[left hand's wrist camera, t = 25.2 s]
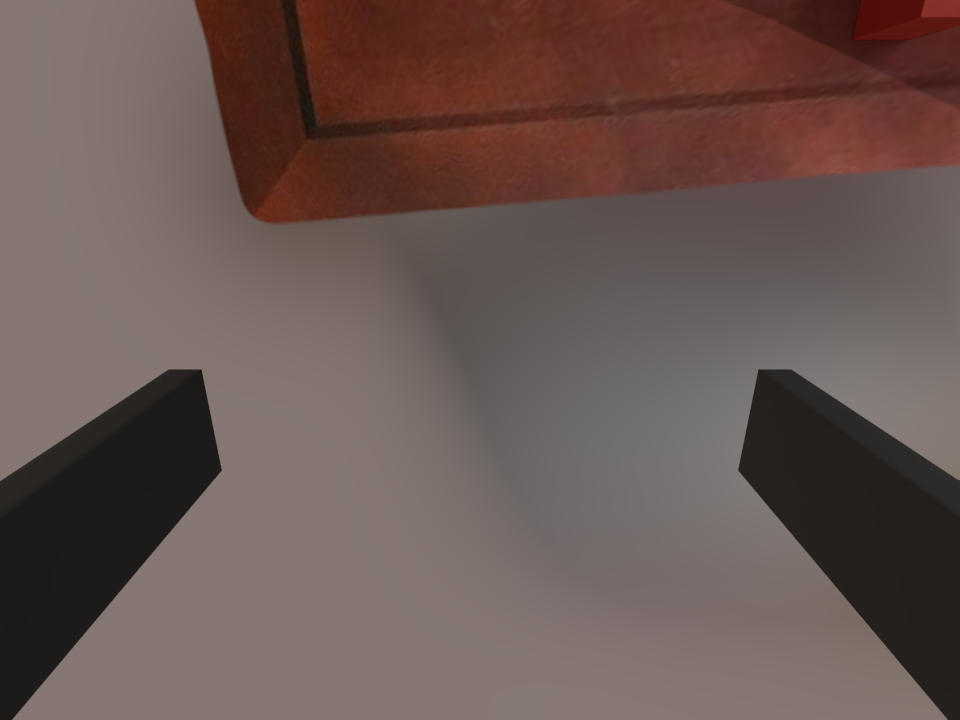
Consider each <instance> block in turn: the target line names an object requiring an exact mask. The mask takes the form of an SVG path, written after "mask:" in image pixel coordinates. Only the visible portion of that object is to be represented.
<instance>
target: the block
mask: <svg viewBox="0 0 960 720" xmlns="http://www.w3.org/2000/svg"><path fill="white" fill-rule="evenodd" d="M958 25H960V0H861V1H860V6H859V11H858V15H857V20H856V25H855V29H854V34H853V39H852V40H910V39H913V38H917V37H920V36H924V35H927V34H931V33H934V32H937V31H941V30H944V29H948V28H951V27H955V26H958Z"/></svg>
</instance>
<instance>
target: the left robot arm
mask: <svg viewBox="0 0 960 720" xmlns="http://www.w3.org/2000/svg"><path fill="white" fill-rule="evenodd" d="M221 471H222V469H221V465H220V459H219V455H218V449H217V445H216V440H215V435H214V430H213V425H212V420H211V415H210V410H209V405H208V400H207V395H206V390H205V385H204V380H203V375H202V370H168V371H166V372H164V373H163V374H161V375H160V376H158V377H157V378H155V379H154V380H152V381H151V382H149V383H148V384H146V385H145V386H143V387H142V388H140V389H139V390H137V391H136V392H134V393H133V394H131V395H130V396H128V397H127V398H125V399H124V400H122V401H121V402H119V403H118V404H116V405H115V406H113V407H112V408H110V409H109V410H107V411H106V412H104V413H103V414H101V415H100V416H98V417H97V418H95V419H94V420H92V421H91V422H89V423H87V424H86V425H84V426H83V427H81V428H80V429H78V430H77V431H75V432H74V433H72V434H71V435H69V436H68V437H66V438H65V439H63V440H62V441H60V442H59V443H57V444H56V445H54V446H53V447H51V448H50V449H48V450H47V451H45V452H44V453H42V454H41V455H39V456H38V457H36V458H35V459H33V460H32V461H30V462H29V463H27V464H26V465H24V466H23V467H21V468H20V469H18V470H17V471H15V472H13V473H12V474H10V475H9V476H8V477H6V478H4V479H3V480H1V481H0V720H12V719H13V718H14V717H15V716H16V714H17V713H18V712H19V711H20V710H21V708H22V707H23V706H24V705H25V704H26V702H27V701H28V700H29V699H30V698H31V696H32V695H33V694H34V693H35V692H36V691H37V689H38V688H39V687H40V686H41V685H42V683H43V682H44V681H45V680H46V679H47V677H48V676H49V675H50V674H51V673H52V672H53V670H54V669H55V668H56V667H57V666H58V664H59V663H60V662H61V661H62V660H63V658H64V657H65V656H66V655H67V654H68V653H69V651H70V650H71V649H72V648H73V647H74V645H75V644H76V643H77V642H78V641H79V639H80V638H81V637H82V636H83V635H84V633H85V632H86V631H87V630H88V629H89V628H90V626H91V625H92V624H93V623H94V622H95V620H96V619H97V618H98V617H99V616H100V614H101V613H102V612H103V611H104V610H105V609H106V607H107V606H108V605H109V604H110V603H111V601H112V600H113V599H114V598H115V597H116V595H117V594H118V593H119V592H120V591H121V590H122V588H123V587H124V586H125V585H126V584H127V582H128V581H129V580H130V579H131V578H132V576H133V575H134V574H135V573H136V572H137V571H138V569H139V568H140V567H141V566H142V565H143V563H144V562H145V561H146V560H147V559H148V557H149V556H150V555H151V554H152V553H153V552H154V550H155V549H156V548H157V547H158V546H159V544H160V543H161V542H162V541H163V540H164V538H165V537H166V536H167V535H168V534H169V532H170V531H171V530H172V529H173V528H174V527H175V525H176V524H177V523H178V522H179V521H180V519H181V518H182V517H183V516H184V515H185V513H186V512H187V511H188V510H189V509H190V508H191V506H192V505H193V504H194V503H195V502H196V500H197V499H198V498H199V497H200V496H201V494H202V493H203V492H204V491H205V490H206V489H207V487H208V486H209V485H210V484H211V483H212V481H213V480H214V479H215V478H216V477H217V475H218V474H219V473H220V472H221ZM738 471H739V472H740V473H741V474H742V475H743V477H744V478H745V479H746V480H747V481H748V483H749V484H750V485H751V486H752V487H753V489H754V490H755V491H756V492H757V493H758V494H759V496H760V497H761V498H762V499H763V500H764V502H765V503H766V504H767V505H768V506H769V508H770V509H771V510H772V511H773V512H774V513H775V515H776V516H777V517H778V518H779V519H780V521H781V522H782V523H783V524H784V525H785V527H786V528H787V529H788V530H789V531H790V532H791V534H792V535H793V536H794V537H795V538H796V540H797V541H798V542H799V543H800V544H801V546H802V547H803V548H804V549H805V550H806V551H807V553H808V554H809V555H810V556H811V557H812V559H813V560H814V561H815V562H816V563H817V565H818V566H819V567H820V568H821V569H822V571H823V572H824V573H825V574H826V575H827V576H828V578H829V579H830V580H831V581H832V582H833V584H834V585H835V586H836V587H837V588H838V589H839V591H840V592H841V593H842V594H843V595H844V597H845V598H846V599H847V600H848V601H849V603H850V604H851V605H852V606H853V607H854V609H855V610H856V611H857V612H858V613H859V615H860V616H861V617H862V618H863V619H864V620H865V622H866V623H867V624H868V625H869V626H870V628H871V629H872V630H873V631H874V632H875V634H876V635H877V636H878V637H879V638H880V639H881V641H882V642H883V643H884V644H885V645H886V647H887V648H888V649H889V650H890V651H891V653H892V654H893V655H894V656H895V657H896V658H897V660H898V661H899V662H900V663H901V664H902V666H903V667H904V668H905V669H906V670H907V672H908V673H909V674H910V675H911V676H912V677H913V679H914V680H915V681H916V682H917V683H918V685H919V686H920V687H921V688H922V689H923V691H924V692H925V693H926V694H927V695H928V696H929V698H930V699H931V700H932V701H933V702H934V704H935V705H936V706H937V707H938V708H939V709H940V711H941V712H942V713H943V714H944V716H945V717H946V718H947V719H948V720H960V480H957V479H956V478H954V477H952V476H951V475H950V474H948V473H946V472H945V471H943V470H942V469H940V468H939V467H937V466H936V465H934V464H933V463H931V462H930V461H928V460H927V459H925V458H924V457H922V456H921V455H919V454H918V453H916V452H915V451H913V450H912V449H910V448H909V447H907V446H906V445H904V444H903V443H901V442H900V441H898V440H897V439H895V438H894V437H892V436H891V435H889V434H888V433H886V432H885V431H883V430H882V429H880V428H879V427H877V426H876V425H874V424H873V423H871V422H869V421H868V420H866V419H865V418H863V417H862V416H860V415H859V414H857V413H856V412H854V411H853V410H851V409H850V408H848V407H847V406H845V405H844V404H842V403H841V402H839V401H838V400H836V399H835V398H833V397H832V396H830V395H829V394H827V393H826V392H824V391H823V390H821V389H820V388H818V387H817V386H815V385H814V384H812V383H811V382H809V381H808V380H806V379H805V378H803V377H802V376H800V375H799V374H797V373H795V372H794V371H792V370H758V375H757V380H756V385H755V390H754V395H753V400H752V405H751V410H750V415H749V420H748V425H747V430H746V435H745V440H744V444H743V449H742V454H741V460H740V464H739V469H738Z"/></svg>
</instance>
